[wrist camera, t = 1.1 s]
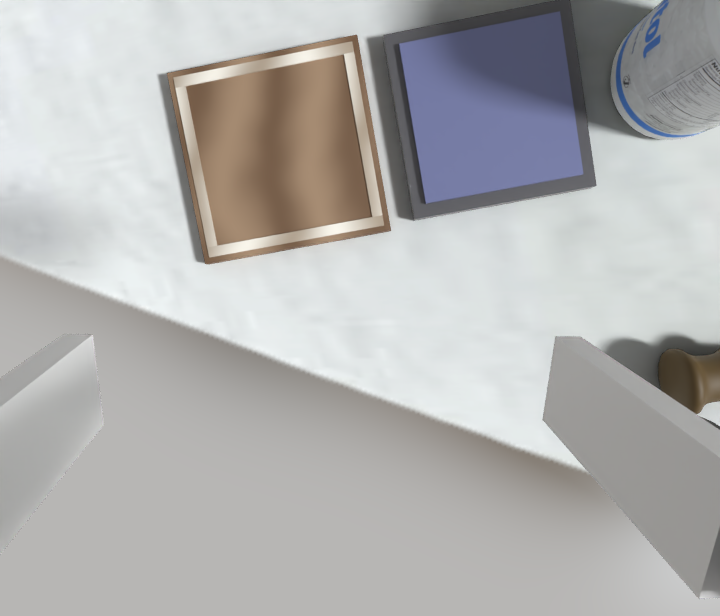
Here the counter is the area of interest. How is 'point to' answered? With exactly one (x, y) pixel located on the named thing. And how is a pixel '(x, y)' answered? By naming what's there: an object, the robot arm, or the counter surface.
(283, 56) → the board
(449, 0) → the counter surface
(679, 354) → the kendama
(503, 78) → the ink pad
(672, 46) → the supplement tub
